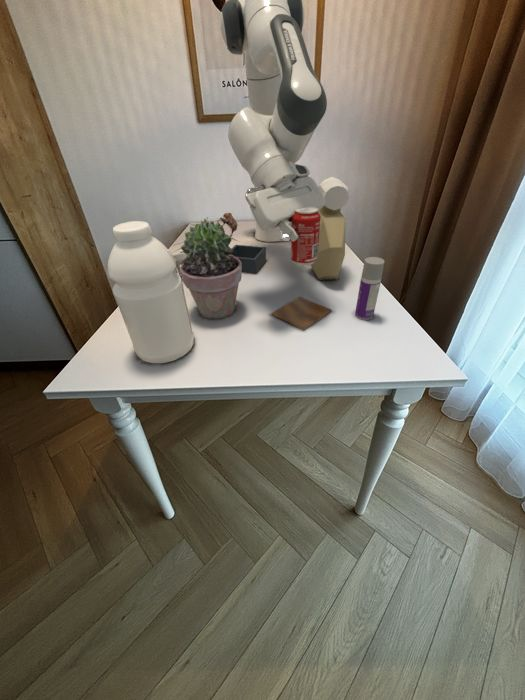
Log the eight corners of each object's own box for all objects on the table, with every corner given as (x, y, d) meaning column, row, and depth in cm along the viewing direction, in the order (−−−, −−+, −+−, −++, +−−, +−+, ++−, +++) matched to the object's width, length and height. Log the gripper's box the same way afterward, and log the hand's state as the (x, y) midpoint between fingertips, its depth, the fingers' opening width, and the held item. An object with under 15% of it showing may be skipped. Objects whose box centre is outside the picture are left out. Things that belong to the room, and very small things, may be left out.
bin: (236, 257, 116) (235, 244, 113) (266, 260, 113) (266, 247, 110) (224, 270, 107) (222, 256, 104) (256, 273, 104) (255, 259, 101)
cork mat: (299, 298, 90) (299, 296, 90) (331, 311, 84) (331, 309, 83) (271, 314, 84) (271, 312, 83) (303, 330, 77) (303, 328, 77)
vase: (335, 257, 112) (345, 169, 95) (351, 288, 94) (367, 185, 76) (302, 259, 113) (306, 171, 95) (311, 290, 94) (318, 187, 76)
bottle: (199, 328, 80) (176, 213, 62) (189, 363, 69) (158, 236, 51) (145, 330, 80) (107, 216, 63) (126, 365, 69) (75, 239, 52)
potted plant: (167, 311, 87) (143, 218, 72) (224, 288, 97) (214, 202, 81) (200, 338, 76) (180, 236, 61) (261, 310, 86) (257, 215, 70)
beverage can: (305, 255, 78) (308, 204, 71) (322, 263, 74) (327, 209, 67) (285, 261, 76) (286, 208, 68) (301, 269, 71) (304, 214, 64)
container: (351, 312, 83) (360, 258, 74) (366, 309, 84) (376, 255, 75) (361, 321, 79) (372, 265, 70) (377, 317, 81) (389, 262, 71)
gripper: (248, 179, 62) (284, 239, 62) (311, 165, 73) (342, 216, 73) (235, 200, 67) (269, 255, 67) (296, 184, 78) (324, 231, 79)
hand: (307, 235), depth 70 cm, fingers closed on beverage can, 6 cm apart
